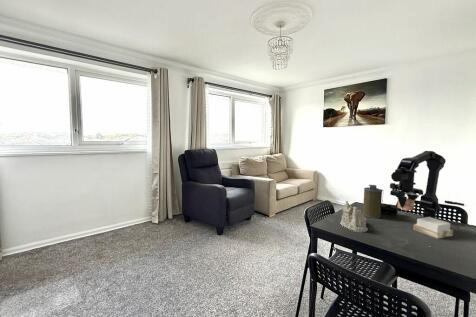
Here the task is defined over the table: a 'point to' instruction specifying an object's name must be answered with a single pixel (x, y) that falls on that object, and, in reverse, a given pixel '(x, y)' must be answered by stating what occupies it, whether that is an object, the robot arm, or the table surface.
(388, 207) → the end cap
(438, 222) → the cream top slab
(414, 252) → the table surface
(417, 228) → the birch base slab
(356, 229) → the ceramic cottage
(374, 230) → the table surface
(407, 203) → the terracotta cube
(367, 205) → the canister
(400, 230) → the table surface
